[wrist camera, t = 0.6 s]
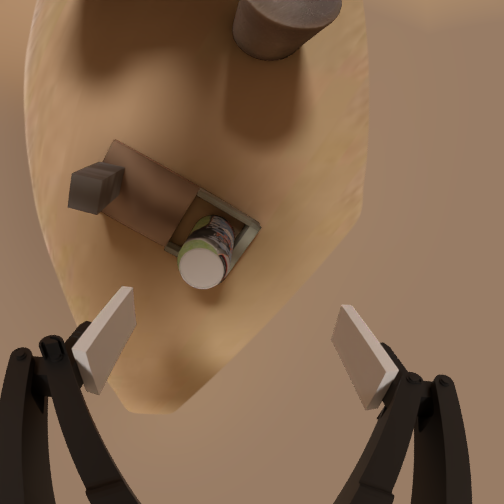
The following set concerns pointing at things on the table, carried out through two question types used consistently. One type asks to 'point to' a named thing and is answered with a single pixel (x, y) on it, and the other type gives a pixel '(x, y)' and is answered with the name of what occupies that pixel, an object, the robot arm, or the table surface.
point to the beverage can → (207, 253)
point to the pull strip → (146, 197)
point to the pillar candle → (280, 25)
